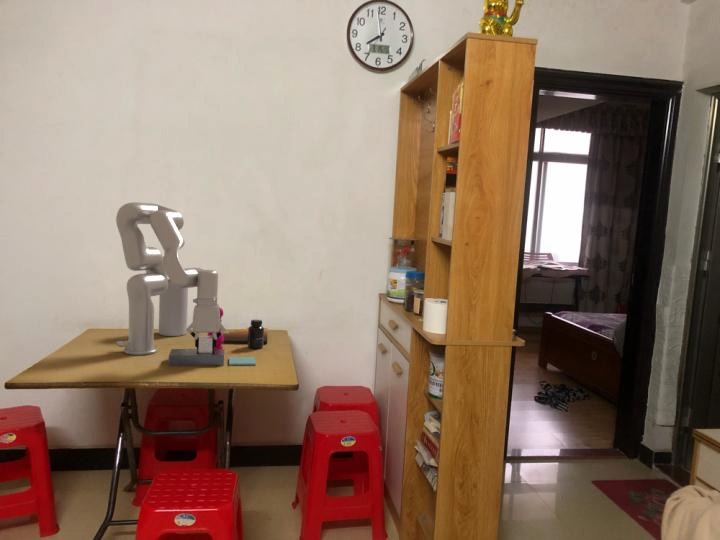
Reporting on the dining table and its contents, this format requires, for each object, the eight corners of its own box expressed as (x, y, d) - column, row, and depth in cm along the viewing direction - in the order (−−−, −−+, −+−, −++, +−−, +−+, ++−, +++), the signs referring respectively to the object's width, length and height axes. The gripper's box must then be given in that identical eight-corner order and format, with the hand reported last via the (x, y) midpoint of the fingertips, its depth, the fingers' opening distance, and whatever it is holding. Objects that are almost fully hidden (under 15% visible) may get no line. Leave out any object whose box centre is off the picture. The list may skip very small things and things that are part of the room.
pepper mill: (227, 349, 246) (228, 303, 244) (216, 353, 239) (217, 305, 237) (213, 347, 249) (214, 301, 247) (202, 350, 242) (203, 303, 240)
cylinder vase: (181, 337, 264) (183, 283, 262) (154, 335, 264) (155, 281, 262) (190, 332, 277) (191, 280, 274) (164, 330, 277) (165, 278, 275)
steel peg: (198, 364, 221) (198, 338, 220) (198, 360, 226) (199, 335, 225) (211, 364, 222) (212, 338, 221) (212, 360, 227) (212, 335, 226)
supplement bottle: (259, 350, 248) (260, 322, 247) (244, 348, 250) (245, 321, 249) (265, 346, 255) (266, 319, 254) (251, 345, 256) (252, 318, 255)
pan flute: (209, 344, 255) (267, 345, 260) (209, 337, 255) (267, 338, 259) (214, 333, 280) (267, 334, 284) (214, 326, 280) (267, 327, 284)
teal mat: (229, 365, 221) (229, 363, 221) (229, 359, 231) (229, 357, 230) (255, 365, 223) (255, 363, 223) (254, 359, 233) (254, 357, 233)
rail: (168, 365, 216) (168, 355, 216) (171, 359, 226) (171, 349, 225) (223, 365, 220) (224, 355, 220) (224, 359, 230) (224, 349, 230)
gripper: (183, 303, 216) (181, 351, 218) (229, 304, 220) (228, 351, 221) (184, 300, 223) (183, 346, 225) (229, 301, 227) (228, 346, 229)
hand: (205, 348), depth 223 cm, fingers open, 5 cm apart
